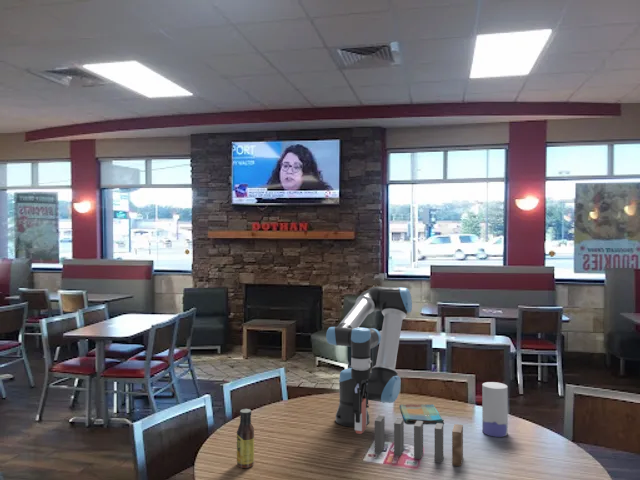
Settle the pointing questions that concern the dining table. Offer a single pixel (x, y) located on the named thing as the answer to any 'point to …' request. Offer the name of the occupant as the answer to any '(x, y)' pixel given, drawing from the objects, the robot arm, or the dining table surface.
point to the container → (495, 409)
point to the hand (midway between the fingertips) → (360, 427)
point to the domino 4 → (439, 442)
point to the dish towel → (420, 413)
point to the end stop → (457, 445)
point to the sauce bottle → (245, 440)
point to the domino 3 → (418, 439)
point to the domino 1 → (379, 434)
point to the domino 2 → (398, 436)
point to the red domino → (363, 416)
